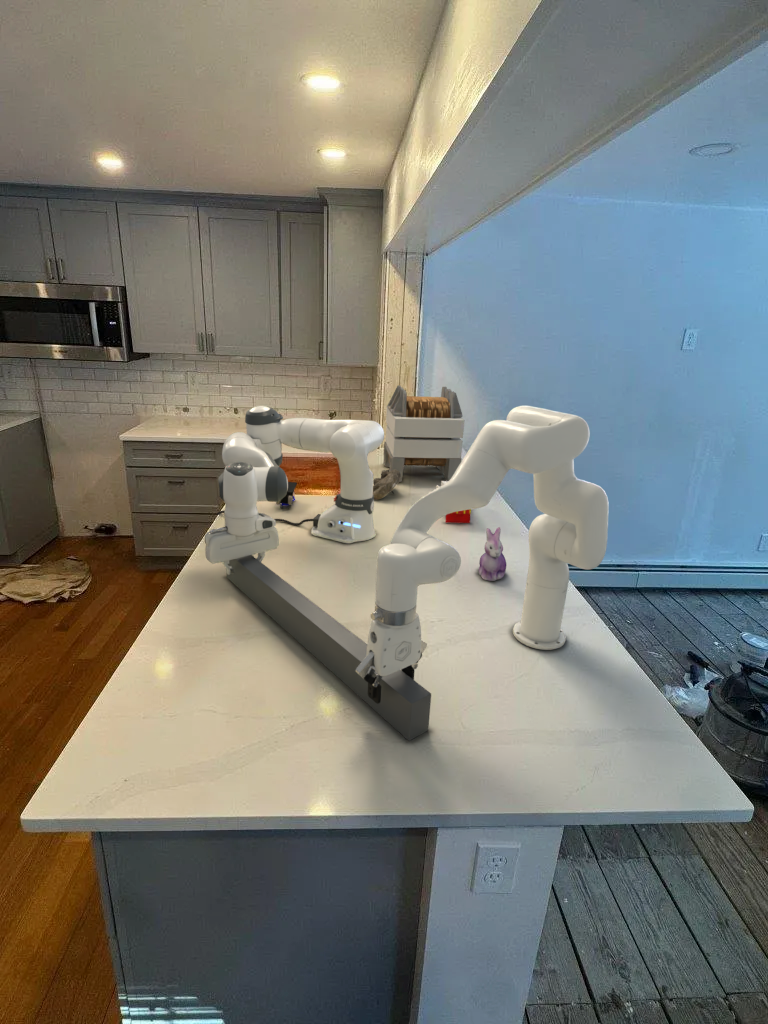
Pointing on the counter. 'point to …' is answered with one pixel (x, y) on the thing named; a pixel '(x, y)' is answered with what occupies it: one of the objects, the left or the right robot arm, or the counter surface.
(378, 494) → the fossil
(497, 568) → the figurine
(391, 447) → the grey slatted crate stand
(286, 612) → the bar
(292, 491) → the figurine character
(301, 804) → the counter surface
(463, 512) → the toy
